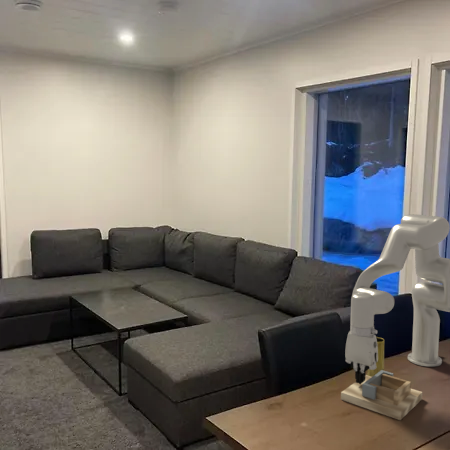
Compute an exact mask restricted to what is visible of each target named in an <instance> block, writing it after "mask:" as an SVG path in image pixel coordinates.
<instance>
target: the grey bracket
mask: <svg viewBox="0 0 450 450" xmlns="http://www.w3.org/2000/svg"><path fill="white" fill-rule="evenodd" d="M382 374H386V375H390V376H393V377H394V373H393V372H390V371H386V370H384V371H383V370H381V371H380V372H378V373H377V374H375V375H374V376H373V377H371V378H370V379H369V380H367V381H366V382H365V383H363V384H362V396H364V397H367V398H370V399H373V400H375V399H376V386H373V385H370V383H372V384H375V385H378V386H380V385H381V384H382Z"/></svg>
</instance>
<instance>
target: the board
mask: <svg viewBox="0 0 450 450" xmlns="http://www.w3.org/2000/svg"><path fill="white" fill-rule="evenodd" d="M370 378H371V376H368V375H367V374H366V376H365V381H364V382H363V383H365V382H366V381H367V380H369V379H370ZM363 383H361V384H359V383H356V381H354V382H353V383H352V384H350V385H349V386H348V387H346V388H345V389H344V390H342V391H340V400H342V401H343V402H347V403H350V404H353V405H355V406H358V407H361V408H364V409H367V410H369V411H372V412H375V413H379V414H381V415H383V416H387V417H389V418H393V419H394V420H395V419H396V420H398V421H402V419H404V417H405V416H406V415H408V414H409V412H411V411H412V409H414V407H415V408H416V406H417V405H418V404H419V403H420V402H421V401H422V400H423V391H420V390H417V389H414V388H412V381H410V380H406V379H404V378H403V379H402V378H401V377H396V376H394V375H393V376H390V375H386V374H382V384H381V385H380V386H378V385H375V384H372V383H370V385H373V386H376V399H375V400H373V399H370V398H367V397H364V396H362V384H363Z"/></svg>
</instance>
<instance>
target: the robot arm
mask: <svg viewBox="0 0 450 450" xmlns="http://www.w3.org/2000/svg"><path fill="white" fill-rule="evenodd" d="M449 232H450V223H449V221H448V220H447V219H446V217H443V216H436V215H435V216H433V215H426V214H425V215H424V214H405V215H404V216H403V217H402V218H401V219H400V223H397V224H395V225H394V226H392V228H391V229H390V232H389V233H388V237H387V239H386V242H385V243H384V245H383V246H384V247H383V249H382V251H381V254H380V256H379V258H378V259H377V260H376V261H375V262H373V263H372V264H370V265H369V266H368V267H366V269H364V270H363V271H362V272H361V273H360V275H359V276H358V278H357V280H356V281H355V284H354V287H353V289H352V294H351V299H350V324H349V325H350V327H349V328H350V330H349V331H348V334H347V338H346V343H345V351H344V352H345V354H344V355H345V362H346V363H347V364H350V365H351V366H352V368H353V371H354V372H355V373H354V374H355V375H354V378H355V382H356V383H359V384H361V383H363V382H364V381H365V376H366V375H367V373H366V372H368V369H370V370H375V369H376V368H377V367H376V362H377V361H378V346H377V339H376V337H377V336H376V335H377V334H378V330H377V329H375V325H374V324H375V321H374V320H375V315H384V314H387V313H389V312H391V311H392V309H394V306H395V298H394V296H393V294H391V293H390V292H387V291H385V290H380V289H375V288H372V287H371V286H372V284H373V283H374V282H375V281H376V280H378V279H379V278H381V277H384V276H386V275H391V274H395V273H398V272H400V271H402V270H403V269H404V266H405V263H406V261H407V259H408V256H409V253H410V251H411V249H413V250H414V264H415V266H414V267H415V268H414V269H415V275H416V276H417V278H419V279H420V280H425V281H419V282H417V283H415V284H414V285H413V287H412V289H411V297H412V299H411V300H412V305H413V324H412V346H411V351H412V352H410V353H408V354H407V360H408V361H409V362H411V364H415V365H418V366H420V367H421V366H422V367H430V368H433V367H439V366H441V365H442V363H443V360H442V358H441V357H440V356H439V341H440V340H439V339H440V323H441V319H440V314H439V313H438V311H441V312H442V311H443V312H448V313H450V258H446V257H441V256H440V249H439V248H440V247H439V243H440V242H442V241H444V240H445V239H446V238H447V236H448V235H449ZM437 310H438V311H437Z"/></svg>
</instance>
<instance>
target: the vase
mask: <svg viewBox="0 0 450 450" xmlns="http://www.w3.org/2000/svg"><path fill="white" fill-rule="evenodd" d="M376 339H377V346H378V361H377V362H376V367H377V368H376V369H375V370H370V369H368V370H367V371H366V372H367V373H366V375H368V376H371V377H373V376H374V375H375V374H377V373H378V372H380V371H381V370H383V371H385V339H384V338H382V337H378V336H376Z"/></svg>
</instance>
